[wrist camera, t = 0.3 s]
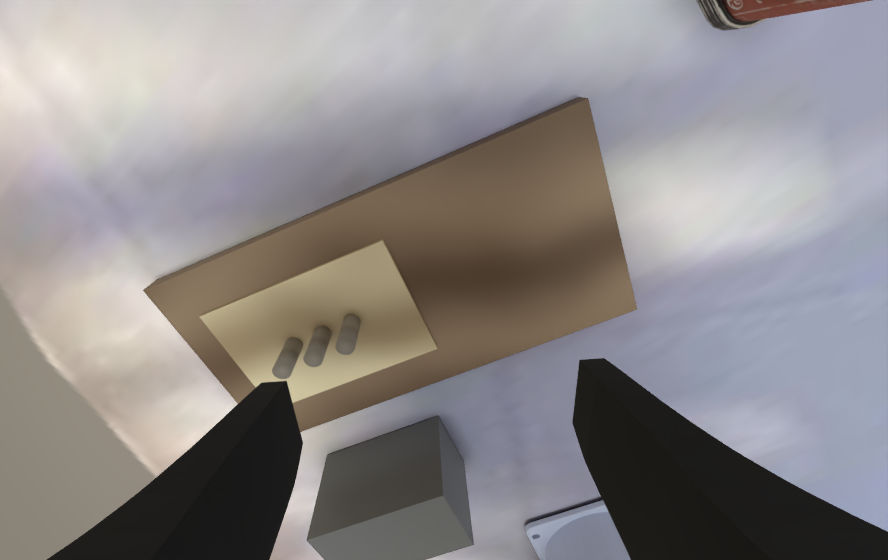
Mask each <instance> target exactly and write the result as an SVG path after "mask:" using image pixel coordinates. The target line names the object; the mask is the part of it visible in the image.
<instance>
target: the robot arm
mask: <svg viewBox="0 0 888 560" xmlns="http://www.w3.org/2000/svg"><path fill="white" fill-rule="evenodd" d="M573 426H574V429H575V432H576V435H577V438H578V442H579V445H580V448H581V451H582V454H583V456H584V459H585V462H586V464H587V467H588V469H589V471H590V473H591V475H592V478H593V480H594V482H595V484H596V486H597V488H598V491H599V493H600V495H601V497H602V499H603V500H601V501H598V502H595V503H592V504H589V505H585V506H582V507H579V508H576V509H573V510H569V511H566V512H563V513H560V514H557V515H553V516H550V517H547V518H544V519H540V520H537V521H534V522H531V523H529V524H527V525H526V527H525V530H526V534H527V536H528V538H529V540H530V542H531V544H532V545H533V547H534V549H535V551H536V553H537V555H538V557H539V559H540V560H888V532H887V531H885V530H883V529H881V528H879V527H877V526H874V525H872V524H870V523H868V522H866V521H864V520H862V519H860V518H858V517H856V516H853V515H851V514H849V513H848V512H846V511H844V510H842V509H840V508H838V507H836V506H834V505H832V504H830V503H828V502H826V501H824V500H822V499H820V498H818V497H816V496H814V495H812V494H810V493H808V492H806V491H804V490H803V489H801V488H799V487H797V486H795V485H793V484H791V483H789V482H788V481H786V480H784V479H782V478H780V477H779V476H777V475H775V474H774V473H772V472H770V471H768V470H767V469H765V468H763V467H761V466H760V465H758V464H756V463H754V462H753V461H751V460H749V459H748V458H746V457H744V456H743V455H741V454H739V453H738V452H736V451H734V450H733V449H731V448H730V447H728V446H726V445H725V444H723V443H722V442H720V441H719V440H717V439H716V438H714V437H713V436H711V435H710V434H708V433H707V432H705V431H704V430H702V429H700V428H699V427H697V426H696V425H695V424H693V423H692V422H690V421H689V420H687V419H686V418H684V417H683V416H682V415H680V414H679V413H677V412H676V411H675V410H673V409H672V408H670V407H669V406H668V405H666V404H665V403H663V402H662V401H661V400H659V399H658V398H657V397H655V396H654V395H653V394H651V393H650V392H649V391H647V390H646V389H645V388H643V387H642V386H641V385H639V384H638V383H637V382H635V381H634V380H633V379H631V378H630V377H629V376H627V375H626V374H625V373H623V372H622V371H621V370H620V369H618V368H617V367H615V366H614V365H613V364H611V363H610V362H609V361H607V360H606V359H604V358H602V359H588V360H580V362H579V371H578V379H577V388H576V397H575V406H574V414H573ZM302 445H303V441H302V438H301V434H300V430H299V426H298V422H297V418H296V415H295V411H294V407H293V403H292V399H291V396H290V392H289V388H288V384H287V381H277V382H263V383H260V384H259V385H258V386H257V387H256V388H255V389H254V390H253V391H251V392H250V393H249V394H248V395H247V396H246V397H245V398H244V399H243V400H242V401H241V402H240V403H239V404H238V405H237V406H235V407H234V408H233V409H232V410H231V411H230V412H229V413H228V414H227V415H226V416H225V417H224V418H223V419H222V420H221V421H220V422H218V423H217V424H216V425H215V426H214V427H213V428H212V429H211V430H210V431H209V432H208V433H207V434H206V435H204V436H203V437H202V438H201V439H200V440H199V441H198V442H197V443H196V444H195V445H194V446H192V447H191V448H190V449H189V450H188V451H187V452H186V453H184V454H183V455H182V456H181V457H180V458H179V459H177V460H176V461H175V462H174V463H173V464H172V465H170V466H169V467H168V468H167V469H166V470H165V471H164V472H162V473H161V474H160V475H159V476H158V477H157V478H155V479H154V480H153V481H152V482H151V483H150V484H148V485H147V486H146V487H145V488H143V489H142V490H141V491H140V492H139V493H137V494H136V495H135V496H134V497H132V498H131V499H130V500H128V501H127V502H126V503H125V504H123V505H122V506H121V507H120V508H118V509H117V510H116V511H114V512H113V513H112V514H110V515H109V516H108V517H106V518H105V519H104V520H102V521H101V522H100V523H98V524H97V525H96V526H95V527H93V528H92V529H90V530H89V531H88V532H86V533H85V534H84V535H82V536H81V537H79V538H78V539H76V540H75V541H73V542H72V543H71V544H69V545H68V546H66V547H65V548H63V549H62V550H60V551H59V552H57V553H56V554H54V555H53V556H51V557H50V558H48V559H47V560H269V559H270V556H271V553H272V550H273V547H274V544H275V541H276V538H277V535H278V532H279V529H280V527H281V524H282V521H283V518H284V515H285V512H286V509H287V506H288V503H289V500H290V497H291V493H292V490H293V487H294V484H295V479H296V475H297V470H298V466H299V461H300V455H301V450H302Z"/></svg>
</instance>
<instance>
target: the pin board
mask: <svg viewBox="0 0 888 560" xmlns="http://www.w3.org/2000/svg"><path fill="white" fill-rule="evenodd" d="M143 291H144V292H145V293H146V294H147V296H148V297H149V298H150V299H151V300H152V302H153V303H154V304H155V305H156V306H157V308H158V309H159V310H160V311H161V312H162V314H163V315H164V316H165V317H166V318H167V319H168V321H169V322H170V323H171V324H172V325H173V327H174V328H175V329H176V330H177V331H178V333H179V334H180V335H181V336H182V337H183V339H184V340H185V341H186V342H187V343H188V345H189V346H190V347H191V348H192V349H193V350H194V352H195V353H196V354H197V355H198V356H199V358H200V359H201V360H202V361H203V362H204V364H205V365H206V366H207V367H208V368H209V370H210V371H211V372H212V373H213V374H214V376H215V377H216V378H217V379H218V380H219V381H220V383H221V384H222V385H223V386H224V387H225V389H226V390H227V391H228V392H229V393H230V395H231V396H232V397H233V398H234V399H235V401H236V402H237V403H238V404H239V403H240V402H241V401H242V400H243V399H244V398H245V397H246V396H247V395H248V394H249V393H250V392H251V391H253V390H254V389H255V388H256V387H257V386H258V385H259V384H260V383H263V382H277V381H287V384H288V388H289V392H290V396H291V399H292V403H293V407H294V411H295V415H296V418H297V422H298V426H299V430H300V432H301V431H304V430H307V429H310V428H312V427H315V426H318V425H321V424H323V423H326V422H329V421H332V420H334V419H337V418H340V417H342V416H345V415H348V414H351V413H353V412H356V411H359V410H362V409H364V408H367V407H370V406H373V405H375V404H378V403H381V402H384V401H386V400H389V399H392V398H395V397H397V396H400V395H403V394H406V393H408V392H411V391H414V390H417V389H419V388H422V387H425V386H428V385H430V384H433V383H436V382H439V381H441V380H444V379H447V378H450V377H452V376H455V375H458V374H461V373H463V372H466V371H469V370H472V369H474V368H477V367H480V366H483V365H485V364H488V363H491V362H494V361H496V360H499V359H502V358H505V357H507V356H510V355H513V354H516V353H518V352H521V351H524V350H527V349H529V348H532V347H535V346H538V345H540V344H543V343H546V342H549V341H551V340H554V339H557V338H560V337H562V336H565V335H568V334H571V333H573V332H576V331H579V330H582V329H584V328H587V327H590V326H593V325H595V324H598V323H601V322H604V321H606V320H609V319H612V318H615V317H617V316H620V315H623V314H626V313H628V312H631V311H634V310H636V309H637V307H636V303H635V298H634V294H633V290H632V285H631V281H630V277H629V272H628V268H627V264H626V260H625V255H624V251H623V247H622V242H621V238H620V234H619V229H618V225H617V221H616V217H615V212H614V208H613V204H612V199H611V195H610V191H609V186H608V182H607V178H606V174H605V169H604V165H603V161H602V156H601V152H600V148H599V143H598V139H597V135H596V131H595V126H594V122H593V118H592V113H591V109H590V105H589V100H588V98H581V97H578V98H576V99H574V100H571V101H569V102H567V103H564V104H562V105H560V106H557V107H555V108H553V109H551V110H548V111H546V112H544V113H541V114H539V115H537V116H534V117H532V118H530V119H527V120H525V121H523V122H521V123H518V124H516V125H514V126H511V127H509V128H507V129H504V130H502V131H500V132H497V133H495V134H493V135H491V136H488V137H486V138H484V139H481V140H479V141H477V142H474V143H472V144H470V145H467V146H465V147H463V148H460V149H458V150H456V151H454V152H451V153H449V154H447V155H444V156H442V157H440V158H437V159H435V160H433V161H430V162H428V163H426V164H424V165H421V166H419V167H417V168H414V169H412V170H410V171H407V172H405V173H403V174H400V175H398V176H396V177H393V178H391V179H389V180H387V181H384V182H382V183H380V184H377V185H375V186H373V187H370V188H368V189H366V190H363V191H361V192H359V193H357V194H354V195H352V196H350V197H347V198H345V199H343V200H340V201H338V202H336V203H333V204H331V205H329V206H326V207H324V208H322V209H320V210H317V211H315V212H313V213H310V214H308V215H306V216H303V217H301V218H299V219H296V220H294V221H292V222H290V223H287V224H285V225H283V226H280V227H278V228H276V229H273V230H271V231H269V232H266V233H264V234H262V235H259V236H257V237H255V238H253V239H250V240H248V241H246V242H243V243H241V244H239V245H236V246H234V247H232V248H229V249H227V250H225V251H223V252H220V253H218V254H216V255H213V256H211V257H209V258H206V259H204V260H202V261H199V262H197V263H195V264H193V265H190V266H188V267H186V268H183V269H181V270H179V271H176V272H174V273H172V274H169V275H167V276H165V277H162V278H160V279H158V280H156V281H154V282H153V283H152V284H151V285H149V286H148V287H147V288H145V289H144V290H143Z"/></svg>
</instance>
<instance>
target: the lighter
mask: <svg viewBox="0 0 888 560" xmlns="http://www.w3.org/2000/svg"><path fill="white" fill-rule="evenodd" d="M865 1H871V0H697V2H698V4H699V6H700V8H701V10H702V12H703V13H704V15H705V17H706V19H707V21H708V22H709V23H710V24H711V25H712V26H713V27H714V28H717V29H720V30H732V29H739V28H746V27H751V26H753V25H756V24H758V23H760V22H762V21H764V20H765V19H767V18H772V17H778V16H784V15H790V14H796V13H801V12H807V11H813V10H819V9H825V8H830V7H836V6H842V5H848V4H854V3H859V2H865Z"/></svg>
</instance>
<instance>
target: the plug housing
mask: <svg viewBox="0 0 888 560" xmlns="http://www.w3.org/2000/svg"><path fill="white" fill-rule="evenodd" d="M307 541H308V542H309V543H310V544H311V546H312V547H313V548H314V549H315V550H316V551H317V552H318V553H319V554H320V555H321V556H322V557H323V559H324V560H426V559H429V558H432V557H436V556H439V555H442V554H445V553H449V552H452V551H455V550H458V549H461V548H465V547H468V546H471V545H474V543H473V534H472V526H471V517H470V509H469V501H468V492H467V484H466V475H465V467H464V461H463V459H462V457H461V455H460V454H459V452H458V450H457V448H456V446H455V445H454V443H453V441H452V439H451V438H450V436H449V434H448V432H447V430H446V429H445V427H444V425H443V423H442V421H441V420H440V418H439V416H436V417H433V418H430V419H427V420H425V421H422V422H419V423H416V424H413V425H411V426H408V427H405V428H402V429H399V430H396V431H394V432H391V433H388V434H385V435H382V436H379V437H377V438H374V439H371V440H368V441H365V442H362V443H360V444H357V445H354V446H351V447H348V448H345V449H343V450H340V451H337V452H334V453H331V454H328V455H327V458H326V463H325V467H324V471H323V475H322V479H321V483H320V487H319V491H318V496H317V500H316V504H315V508H314V512H313V516H312V520H311V525H310V529H309V533H308V537H307Z"/></svg>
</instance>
